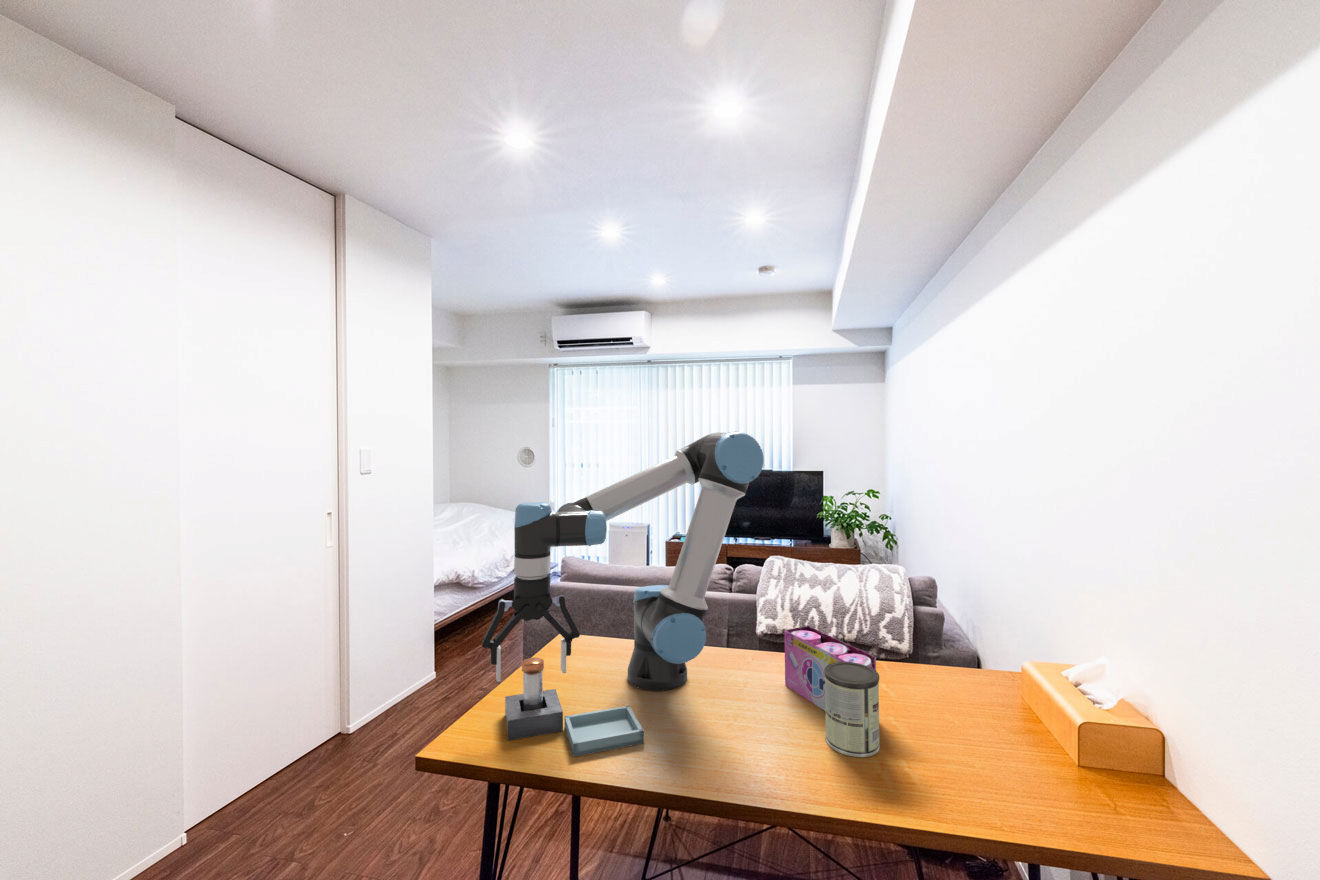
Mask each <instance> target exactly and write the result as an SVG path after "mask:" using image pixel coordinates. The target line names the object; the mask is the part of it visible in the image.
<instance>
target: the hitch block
mask: <svg viewBox="0 0 1320 880" xmlns="http://www.w3.org/2000/svg"><path fill="white" fill-rule="evenodd" d="M504 715H505V725H506V733H507V734H506V735H507V741H515V740H520V739H526V738H532V737H535V736H541V735H547V734H548V735H549V734H554V733H558V732H564V711H563V709H562V705H561V701H560V699H559V695H558V692H557V689H556V688H552V689H546V690H545V689H544V690H543V708H542V709H536V710H530V711H524V702H523V693H518V694H512V695H506V696H504Z"/></svg>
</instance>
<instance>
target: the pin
mask: <svg viewBox="0 0 1320 880" xmlns="http://www.w3.org/2000/svg"><path fill="white" fill-rule="evenodd" d="M544 669H545V660H544V659H543V658H540V657H529V658H526V659H523V660H522V662H521V671H522V674H523V676H522V677H523V678H522V679H523V684H522V685H523V687H522V688H523V691H522V692H523V693H522V694H523V702H524V711H530V710H536V709H542V708H543V691H544V690H543V684H544V683H543V676H544V675H543V670H544Z"/></svg>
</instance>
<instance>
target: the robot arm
mask: <svg viewBox="0 0 1320 880" xmlns="http://www.w3.org/2000/svg"><path fill="white" fill-rule="evenodd" d="M764 461H765V457H764V452H763V450H762V448H761V446H760V444H759V442H758V440H756V439H755V438H754V437H753V436H752V435H750V434H748V433H744V432H739V431H736V430H735V431H733V430H732V431H727V432H712V433H710V434H707V435H705V436H703V437H701V438H699V439H697V440H695V441H694V442H691V443H690V444H688V445H686V446H684V447H682V448H680V449H677V450H676V451H675V454H674V456H672V457H670V458H667V459H665V460H663V461H661V462H658V463H657V464H655V465H653V466H650V467H648V468H645V469H644V470H642V471H639V472H637V473H634V474H633V475H631V476H628V477H626V478H624V479H622V480H620V481H618V482H617V481H616V482H615V483H613V484H611V485H609V486H607V487H604V488H602V489H600V490H597V491H596V492H594V493H591V494H589V495H587V496H585V497H583V498H581V499H579V500H576V501H575V502H567V503H565V504H564V503H563V505H561V506H560V507H558V509H557V511H556V510H555V511H554V510H553V511H552V506H551V504H550V503H549V502H542V501H540V502H539V501H536V502H534V501H531V502H522V503H519V504H518V505H517V506H516V507H515V513H514V526H513V527H514V561H513V562H514V567H513V568H514V570H513V572H514V575H515V577H514V579H513V599H512V600H505V599H504V598H501V599H499V600H498V605H497V610H496V612H495V614H494V615H493V618H492V620H491V622H490V624H489V626H488V628H487V630H486V631H485V634H484V636H483V638H482V640H481V648H484V649H489V650H490V663H491V665H492V666H494V665H495V666H496V667H495V668H496V669H495V673H496V675H495V678H496V682H498V683H499V682H501V675H502V674H501V672H502V671H501V668H502V667H501V665H502V661H501V659H502V655H501V652H502V651H501V649H502V648H501V644H502V643H503V641H504V640H505V639H506V638H507V636H509V634H510V633H511V632H512V631H513V629H514V628H515V627H516V625H518V624H519V623H520V622H521V620H523V621H526V622H527V621H531V620H536V621H538V620H541V619H542V618H544V619H545V620H546V621H547V622H549V624H550V625H551V626H552V627H553V628H554V629H555V630H556V631H557V632H558V633H559V635H561V637H562V638H561V639H560V670H561V672H562V674H566V673H567V657H569V656H571V654H572V643H573V640H574V639H577V638H578V639H579V637H580V636H581V634H580V632H579V630H578V628H577V626H576V623H575V622H574V619H573V618H572V616H571V615H570V613H569V611H568V609H567V605H566V598H565V596H564V595H563V593H559V594H558V595H556V596H551V576H550V575H549V574H550V573H551V548H553V547H555V548H556V547H578V546H579V547H580V546H582V547H583V546H584V547H585V546H588V547H591V546H595V545H596V546H597V545H603V544H604V542H605V541H606V539H607V538H606V537H607V531H608V530H607V521H609V520H610V521H611V519H614V518H616V517H618V516H620V515H622V514H624V513H626V512H628V511H630V510H633V509H635V508H637V507H639V506H641V505H643V504H646V503H647V502H649V501H652V500H654V499H656V498H658V497H660V496H662V495H665V494H666V493H668V492H670V491H672V490H675V489H677V488H680V487H681V486H683V485H685V484H689V485H690V486H691V485H693V486H694V485H695V484H697V483H699V484H700V486H701V489H700V493H699V495H698V499H697V502H696V505H695V508H694V511H693V514H692V517H691V520H690V522H689V526H688V529H687V531H686V535H685V538H684V541H683V543H682V546H681V550H680V553H679V555H678V558H677V561H676V564H675V567H674V571H673V573H672V577H671V579H670V582H669V585H668V584H667V585H666V584H655V585H645V586H641V587H639V588H636V589H635V591H634V594H633V595H634V596H633V601H632V602H633V620H634V621H633V636H634V637H633V639H634V641H633V643H634V646H633V650H632V654H631V657H630V661H629V664H628V667H627V681H628V682H629V684H630V685H632V686H633V687H635V688H637V689H640V690H645V691H653V692H657V691H658V692H659V691H669V690H673V689H677V688H679V687H682V686H683V685H684V684H685V683H686V682H687V680H688V668H687V665H686V663H688V662H690V661H692V660H694V659H695V658H696V657H698V656H699V655H700V654H701V652H702V651H703V649H704V647H705V645H706V641H707V631H706V626H705V625H704V621H705V619H706V615H707V612H708V610H709V608H708V605H707V602H706V600H705V597H706V593H707V591H708V588H709V586H710V585H709V584H710V582H711V579H712V577H713V576H712V575H713V572H714V569H715V566H716V563H717V561H718V558H719V554H720V552H721V548H722V546H723V545H722V544H723V542H724V539H725V536H726V534H727V530H728V528H729V524H730V521H731V517H732V515H733V512H734V509H735V506H736V503H737V501H738V500H739V499H741V498H743V497H745V496H746V494H747V490H748V487H749V484H750V483H751V482H753V481H754V480H755V479H757V478H758V477H759V475H760V474H761V472H762V470H763V469H764V467H763V466H764ZM553 604H554V605H555V606H556V607H557V608H558V607H559V609H560V611H561V613H562V615H563V618H564V619H565V621H566V623H567V625H568V626H569V629H570V630H571V631H570V632H568V630H567V629H566V628H565V627H564V626H563V625H562V624H561V623H560V622H559V620H557V619H556V617H555V616H554V615H553V614H552V613H551V612H550V610H549V609H550V607H551V606H552V605H553ZM509 608H512V610H513V611H514V613H513V614H512V615H511V617H510V618H509V620H508V621H507V622H506V623H505V625H504V626H503V627H502V628H501V629H500V631H499V632H497V634H496V635H495V633H496V631H497V629H498V626H499V625H500V623H501V621H502V619H503V617H504V615H505V612H508V610H509ZM494 635H495V637H494ZM492 638H493V639H492Z"/></svg>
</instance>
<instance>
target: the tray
mask: <svg viewBox="0 0 1320 880" xmlns="http://www.w3.org/2000/svg"><path fill="white" fill-rule="evenodd" d="M564 730H565V734H566V737H567V740H568V744H569V746H570V750H571V752H572V757H579V756H585V755H590V754H595V753H600V752H605V751H611V750H617V749H622V748H626V747H631V746H637V745H642V744H645V730H644V729H643V726H642V725H641V724H640V722H639V719H638V718H637V716H636V715H635V713H634V711H633V709H632V708H631V707H630V705H624V706H623V705H622V706H618V707H611V708H606V709H600V710H595V711H589V712H588V711H587V712H582V713H576V714H571V715H564Z"/></svg>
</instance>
